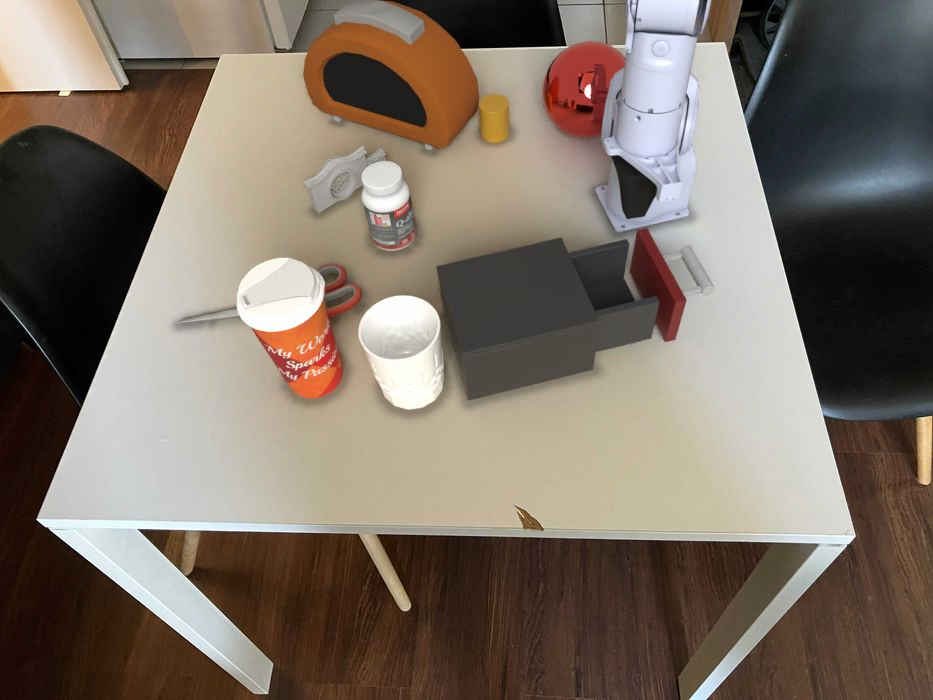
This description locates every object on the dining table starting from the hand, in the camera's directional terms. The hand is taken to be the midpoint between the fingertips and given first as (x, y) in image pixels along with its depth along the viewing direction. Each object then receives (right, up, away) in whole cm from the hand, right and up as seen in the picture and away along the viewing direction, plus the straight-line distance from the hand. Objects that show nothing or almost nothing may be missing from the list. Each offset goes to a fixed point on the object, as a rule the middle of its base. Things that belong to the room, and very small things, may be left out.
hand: (633, 213), depth 76 cm
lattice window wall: (-33, +7, +19) cm, 39 cm away
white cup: (-23, -18, +1) cm, 29 cm away
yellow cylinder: (-14, +16, +24) cm, 32 cm away
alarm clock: (-28, +18, +27) cm, 43 cm away
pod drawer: (0, -10, +3) cm, 11 cm away
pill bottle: (-27, 0, +14) cm, 30 cm away
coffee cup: (-34, -17, +3) cm, 38 cm away
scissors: (-40, -10, +8) cm, 42 cm away
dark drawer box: (-12, -13, +3) cm, 18 cm away
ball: (-1, +16, +23) cm, 28 cm away
